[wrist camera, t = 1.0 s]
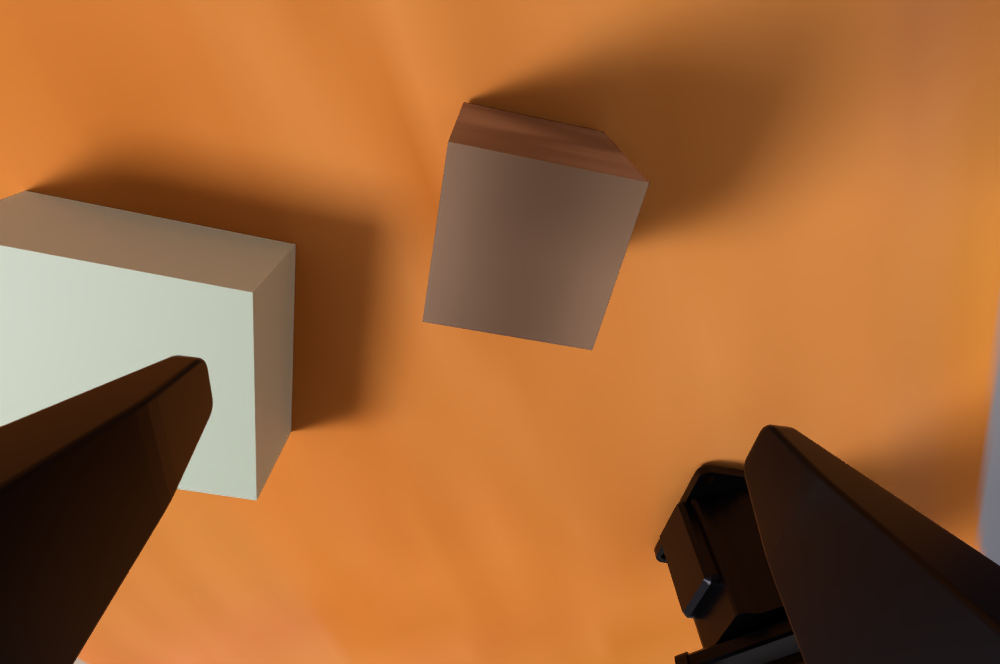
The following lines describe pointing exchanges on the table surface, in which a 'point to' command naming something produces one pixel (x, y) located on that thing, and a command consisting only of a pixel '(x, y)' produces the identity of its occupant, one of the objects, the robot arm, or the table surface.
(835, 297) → the table surface
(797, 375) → the table surface
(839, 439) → the table surface
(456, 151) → the walnut block
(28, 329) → the sage base block
